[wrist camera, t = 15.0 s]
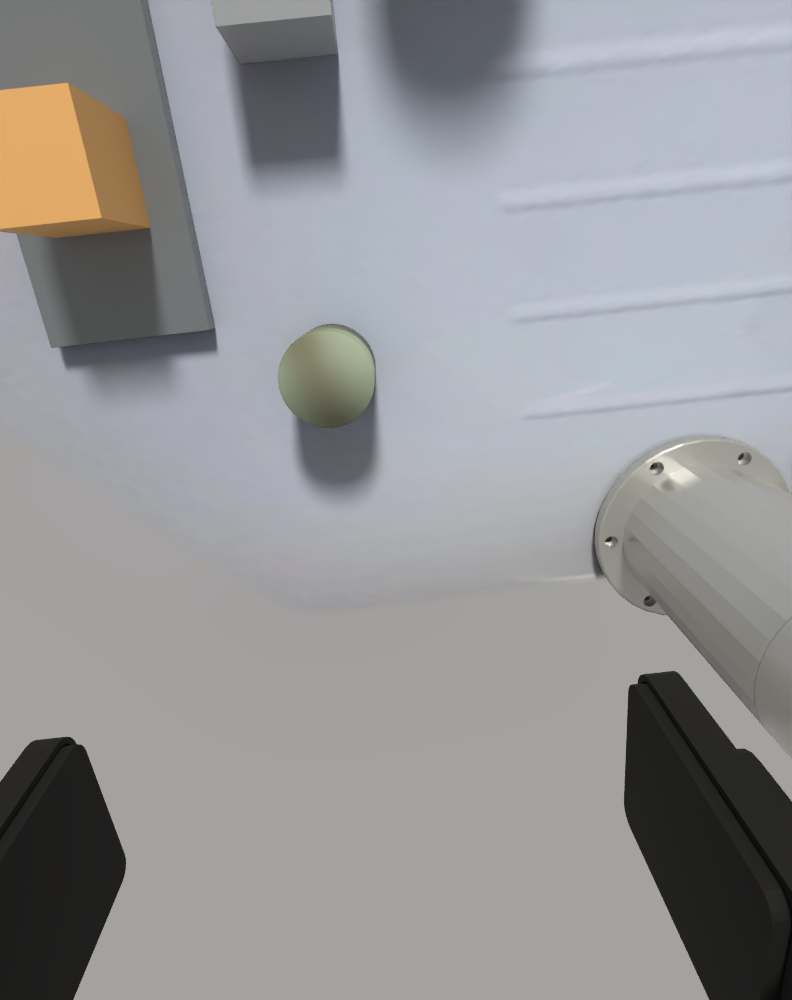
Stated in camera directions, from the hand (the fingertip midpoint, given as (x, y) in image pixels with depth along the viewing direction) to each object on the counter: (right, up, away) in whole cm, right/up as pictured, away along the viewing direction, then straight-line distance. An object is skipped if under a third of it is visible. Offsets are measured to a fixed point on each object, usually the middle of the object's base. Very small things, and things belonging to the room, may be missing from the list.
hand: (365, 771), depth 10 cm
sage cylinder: (-3, +13, +25) cm, 29 cm away
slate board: (-15, +22, +22) cm, 34 cm away
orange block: (-15, +21, +21) cm, 33 cm away
